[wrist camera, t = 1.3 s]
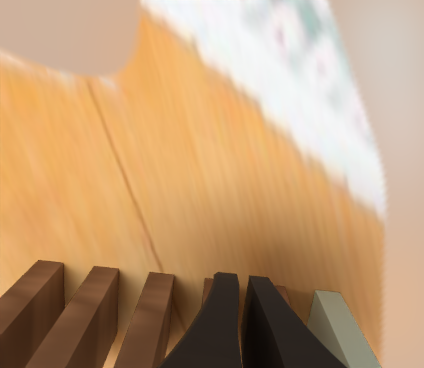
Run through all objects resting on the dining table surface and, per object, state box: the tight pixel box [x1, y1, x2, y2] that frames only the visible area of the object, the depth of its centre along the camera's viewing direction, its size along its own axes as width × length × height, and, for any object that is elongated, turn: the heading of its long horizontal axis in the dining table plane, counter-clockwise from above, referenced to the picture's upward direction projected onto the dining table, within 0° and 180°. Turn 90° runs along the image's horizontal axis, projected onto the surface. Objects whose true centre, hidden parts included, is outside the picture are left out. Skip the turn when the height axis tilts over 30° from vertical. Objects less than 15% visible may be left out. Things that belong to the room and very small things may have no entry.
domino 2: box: [25, 266, 119, 368], centre depth 18 cm, size 2×5×8 cm, turn 174°
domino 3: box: [114, 272, 174, 368], centre depth 18 cm, size 2×5×8 cm, turn 174°
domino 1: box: [0, 260, 65, 368], centre depth 18 cm, size 2×5×8 cm, turn 174°
